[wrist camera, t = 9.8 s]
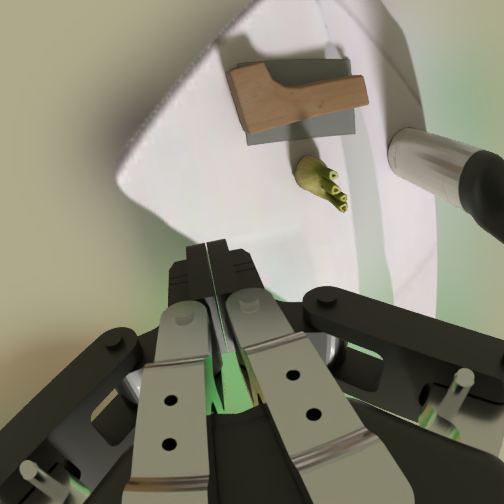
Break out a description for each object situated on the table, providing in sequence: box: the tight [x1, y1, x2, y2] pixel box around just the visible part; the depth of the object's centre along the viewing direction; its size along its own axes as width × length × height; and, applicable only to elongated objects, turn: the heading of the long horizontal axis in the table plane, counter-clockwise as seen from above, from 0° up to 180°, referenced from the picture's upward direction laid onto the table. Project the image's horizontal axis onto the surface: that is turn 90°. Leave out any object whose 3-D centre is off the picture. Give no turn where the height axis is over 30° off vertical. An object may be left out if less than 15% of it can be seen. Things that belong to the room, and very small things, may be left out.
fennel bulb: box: [295, 156, 348, 213], centre depth 43 cm, size 6×5×12 cm
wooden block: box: [226, 62, 369, 134], centre depth 40 cm, size 9×4×18 cm
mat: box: [237, 59, 355, 146], centre depth 43 cm, size 17×12×1 cm
